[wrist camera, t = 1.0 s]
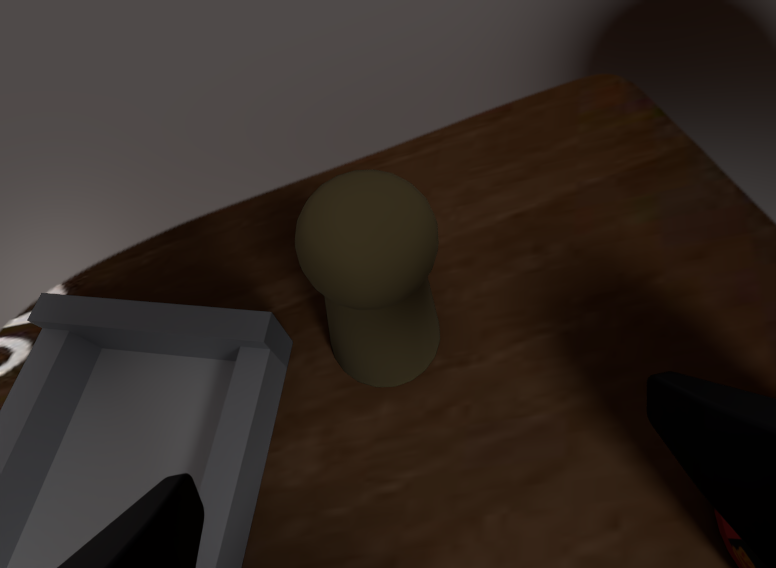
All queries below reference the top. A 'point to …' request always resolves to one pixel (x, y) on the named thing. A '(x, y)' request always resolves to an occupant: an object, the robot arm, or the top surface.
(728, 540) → the canned food
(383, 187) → the olive rounded tall piece
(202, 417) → the shallow grey tray
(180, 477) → the robot arm
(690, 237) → the top surface
